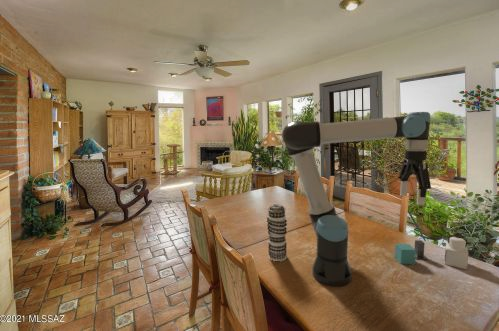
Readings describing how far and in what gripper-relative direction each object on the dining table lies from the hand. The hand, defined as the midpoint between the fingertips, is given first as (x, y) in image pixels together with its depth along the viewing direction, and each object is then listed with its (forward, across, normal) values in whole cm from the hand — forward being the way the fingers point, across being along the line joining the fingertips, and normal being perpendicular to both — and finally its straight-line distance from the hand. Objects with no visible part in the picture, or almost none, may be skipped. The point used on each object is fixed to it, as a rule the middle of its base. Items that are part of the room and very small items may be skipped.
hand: (411, 199), depth 104 cm
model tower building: (+29, 0, +57) cm, 64 cm away
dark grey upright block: (+28, +4, -7) cm, 29 cm away
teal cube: (+28, 0, +1) cm, 28 cm away
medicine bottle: (+28, -1, -19) cm, 34 cm away
